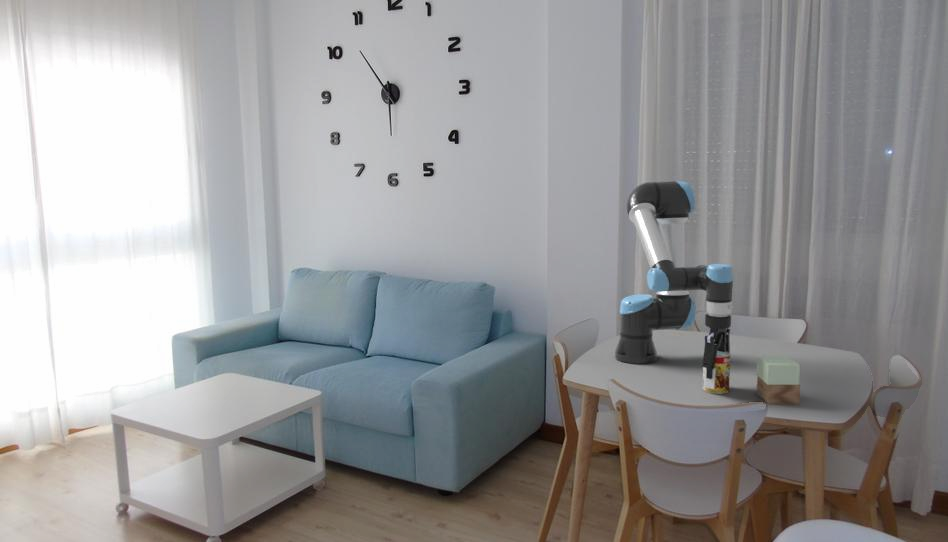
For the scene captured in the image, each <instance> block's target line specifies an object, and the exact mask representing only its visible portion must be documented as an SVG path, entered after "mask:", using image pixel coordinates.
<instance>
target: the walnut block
mask: <svg viewBox="0 0 948 542" xmlns="http://www.w3.org/2000/svg"><path fill="white" fill-rule="evenodd" d="M756 380H757V381H756V394H757V393H758V394H759V395H760V396H761V397H762V398H763V399H764V400H765V403H766V404H768V405H770V403H773V404H772V405H782V404H784V405H785V404H786V405H791V403H793V405H794V404H795V405H797V404H798V405H799V404H800V394H801V384H800V383H799V385H767V384H766V383H765V382H764V381H763V380H762V379H761V378H760V377H758V376H757V379H756ZM758 394H757V395H758ZM759 395H758V396H759ZM760 396H759V397H760ZM761 397H760V398H761ZM762 398H761V399H762ZM763 399H762V400H763ZM764 400H763V401H764Z"/></svg>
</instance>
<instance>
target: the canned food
mask: <svg viewBox="0 0 948 542" xmlns="http://www.w3.org/2000/svg"><path fill="white" fill-rule="evenodd" d="M714 368H716V372H715V389H710V388H706V387H705V384H706V368H705V367H703V366H702V390H703V391H704V392H706V393H709V394H713V395H717V394H718V395H724V394H727V393H729V392H730V391H729V390H730V375H731V374H730V371H731V352H730V353H729V352H726V351H725V352H723V351H717V356H716V361H715V366H714ZM728 391H729V392H728ZM723 393H724V394H723Z"/></svg>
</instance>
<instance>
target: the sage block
mask: <svg viewBox="0 0 948 542" xmlns="http://www.w3.org/2000/svg"><path fill="white" fill-rule="evenodd" d="M756 358H757V361H756V376H757V377H760V378H761V379H762V380H763V381H764V382H765V383H766V384H767V385H799V384H800V376H801V375H800V372H801V364H800V363H798V362H797V361H796V360H794V359H792V358H791V357H789V356H788V355H760V356H759V355H757V357H756Z"/></svg>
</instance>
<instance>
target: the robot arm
mask: <svg viewBox="0 0 948 542" xmlns="http://www.w3.org/2000/svg"><path fill="white" fill-rule="evenodd" d="M695 207H696V198H695V194H694V190H693V188H692V186H691V185H690V184H689V183H688V182H685V181H675V180H674V181H657V182H653V181H648V182H643V183H641V184H639V185H638V186H636V187H635V188H634V189H632V191H631V193H629V196H628V198H627V202H626V213H627V216H628V219H629V221H631V222H632V223H633V224H634V226H635V229H636V232H637V235H638V238H639V241H640V243H641V246H642V249H643V251H644V253H645V257H646V260H647V263H648V264H649V265H648V266H649V270H648V272H647V275H646V280H647V287H648V288H649V290H650V291H652V292H656V294H655V295H656V298H654V297H653V295H651V294H645V293H644V294H642V293H641V294H640V293H639V294H633V295H627V296H626V297H623V298H622V299H621V301H620V306H619V307H620V308H619V313H620V314H619V318H620V319H619V320H620V321H619V339H618V342H617V344H616V348H615V351H614V358H615V359H616V360H617V359H618V360H617V361H619V360H620V361H619V362H622V361H623V362H622V363H626V362H627V363H626V364H636V365H637V364H639V365H640V364H641V365H642V364H643V365H644V364H650V363H654V362H656V361H657V359H658V353H657V349H656V346H655V342H654V339H653V332H654V331H659V330H660V331H663V330H664V331H665V330H677V331H678V330H681V329H688V328H690V327H691V326H692V324H693V323H694V321H695V319H696V313H697V312H696V311H697V307H696V303H695V300H694V298H693V297H691V296H690V292H689V291H705V293H706V294H705V295H706V297H705V309H704V310H705V320H704V325H705V326H706V327H707V328H709V332H708V335H705V336H704V351H703V357H702V359H703V360H702V368H703V367H705V368H706V384H705V387H706V388H710V389H715V372H716V368H714V366H715V361H716V356H717V351H723V352H725V351H726V352H729V353H730V354H731V351H730V349H731V347H730V345H731V343H730V334H731V329H730V328H731V326H732V315H731V314H732V309H733V308H734V305H732V302H733V301H732V299H733V285H734V275H733V274H734V269H733V266H731V265H729V264H725V263H712V264H709V265H708V266H707V265H706V264H705V265H704V264H696V265H694V266H685V258H686V257H685V223H686V222H687V221H688V219H689V215H690V214H692V213H693V212H694V210H695Z"/></svg>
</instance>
